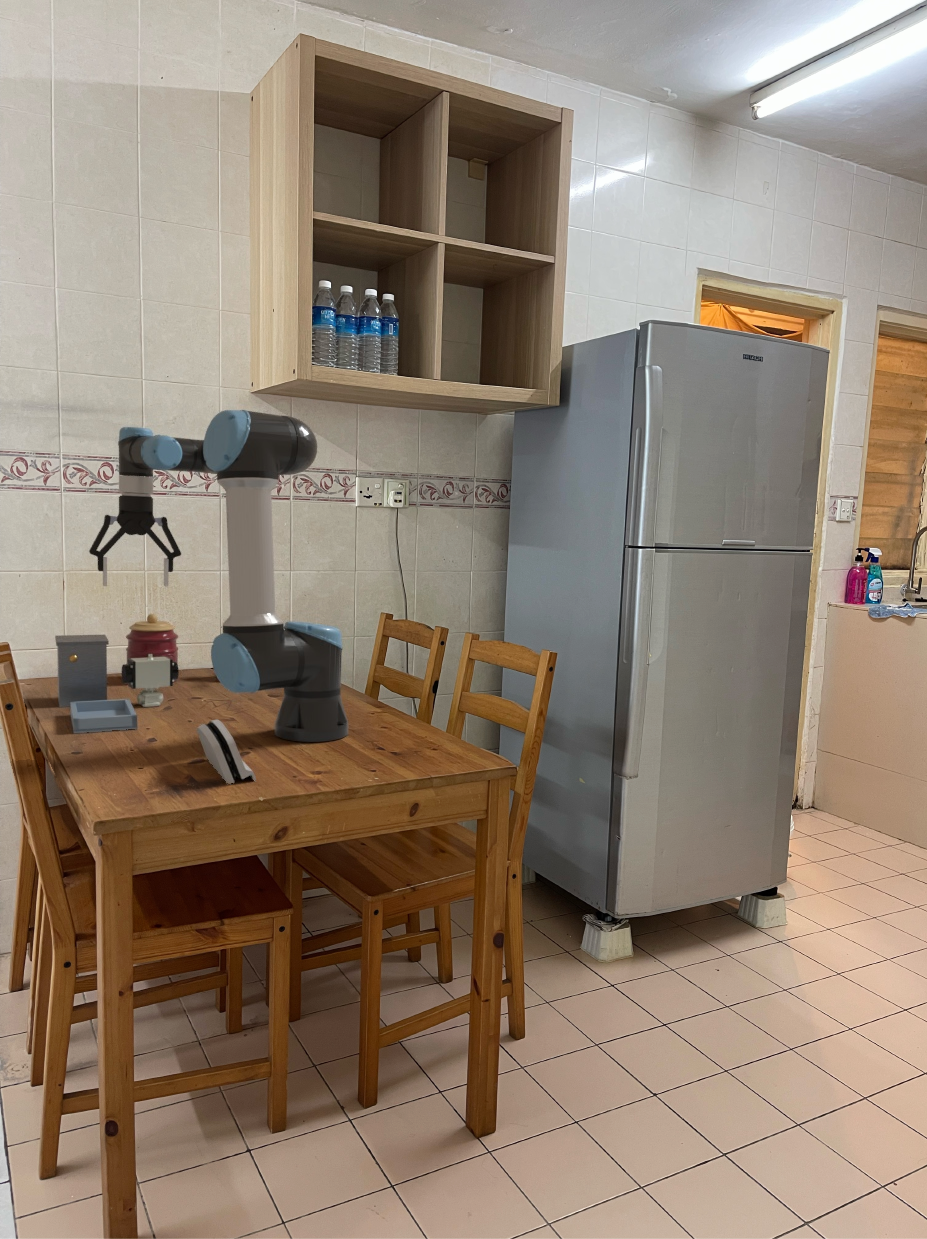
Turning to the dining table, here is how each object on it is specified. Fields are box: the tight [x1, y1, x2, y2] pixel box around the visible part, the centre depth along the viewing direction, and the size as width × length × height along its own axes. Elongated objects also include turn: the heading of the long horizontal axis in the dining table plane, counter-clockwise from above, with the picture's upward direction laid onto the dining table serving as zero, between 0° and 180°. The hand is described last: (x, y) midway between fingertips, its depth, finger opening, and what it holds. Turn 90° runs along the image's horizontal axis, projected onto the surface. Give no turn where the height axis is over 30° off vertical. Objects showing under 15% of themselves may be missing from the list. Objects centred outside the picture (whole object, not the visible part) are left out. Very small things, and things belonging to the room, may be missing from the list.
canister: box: [125, 613, 179, 682], centre depth 235 cm, size 13×13×18 cm
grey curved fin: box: [195, 719, 257, 784], centre depth 159 cm, size 17×5×10 cm, turn 27°
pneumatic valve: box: [121, 654, 179, 708], centre depth 207 cm, size 6×12×12 cm, turn 123°
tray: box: [69, 698, 138, 734], centre depth 190 cm, size 17×12×3 cm
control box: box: [54, 634, 110, 708], centre depth 208 cm, size 11×11×15 cm
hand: (135, 585), depth 213 cm, fingers open, 13 cm apart
